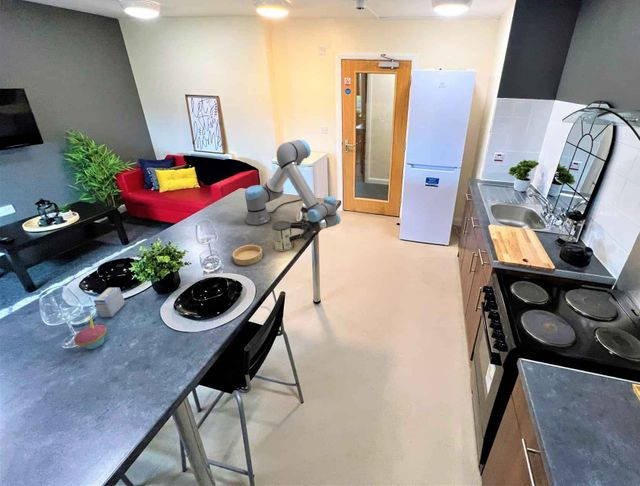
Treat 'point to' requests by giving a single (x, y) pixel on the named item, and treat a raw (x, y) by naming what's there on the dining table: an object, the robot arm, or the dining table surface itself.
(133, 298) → the dining table surface
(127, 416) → the dining table surface
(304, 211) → the spread jar
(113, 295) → the medicine box
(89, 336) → the cupcake
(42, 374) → the dining table surface
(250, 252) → the round tan tray
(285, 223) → the coffee can
